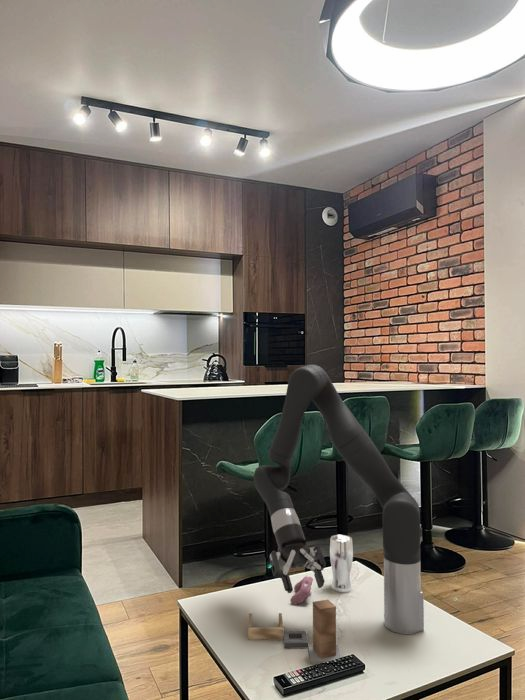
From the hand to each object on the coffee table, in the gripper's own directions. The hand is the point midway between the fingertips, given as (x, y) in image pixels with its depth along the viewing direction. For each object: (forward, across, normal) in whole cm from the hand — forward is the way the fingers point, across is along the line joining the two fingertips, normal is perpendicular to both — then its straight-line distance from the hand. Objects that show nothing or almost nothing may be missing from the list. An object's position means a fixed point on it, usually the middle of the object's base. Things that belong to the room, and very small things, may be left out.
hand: (306, 589), depth 129 cm
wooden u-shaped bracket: (+4, -9, +12) cm, 15 cm away
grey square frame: (+9, -4, +7) cm, 12 cm away
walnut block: (+14, 0, +1) cm, 14 cm away
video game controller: (-6, +8, +22) cm, 24 cm away
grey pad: (+15, 0, +1) cm, 15 cm away
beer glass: (-7, +22, +23) cm, 33 cm away
